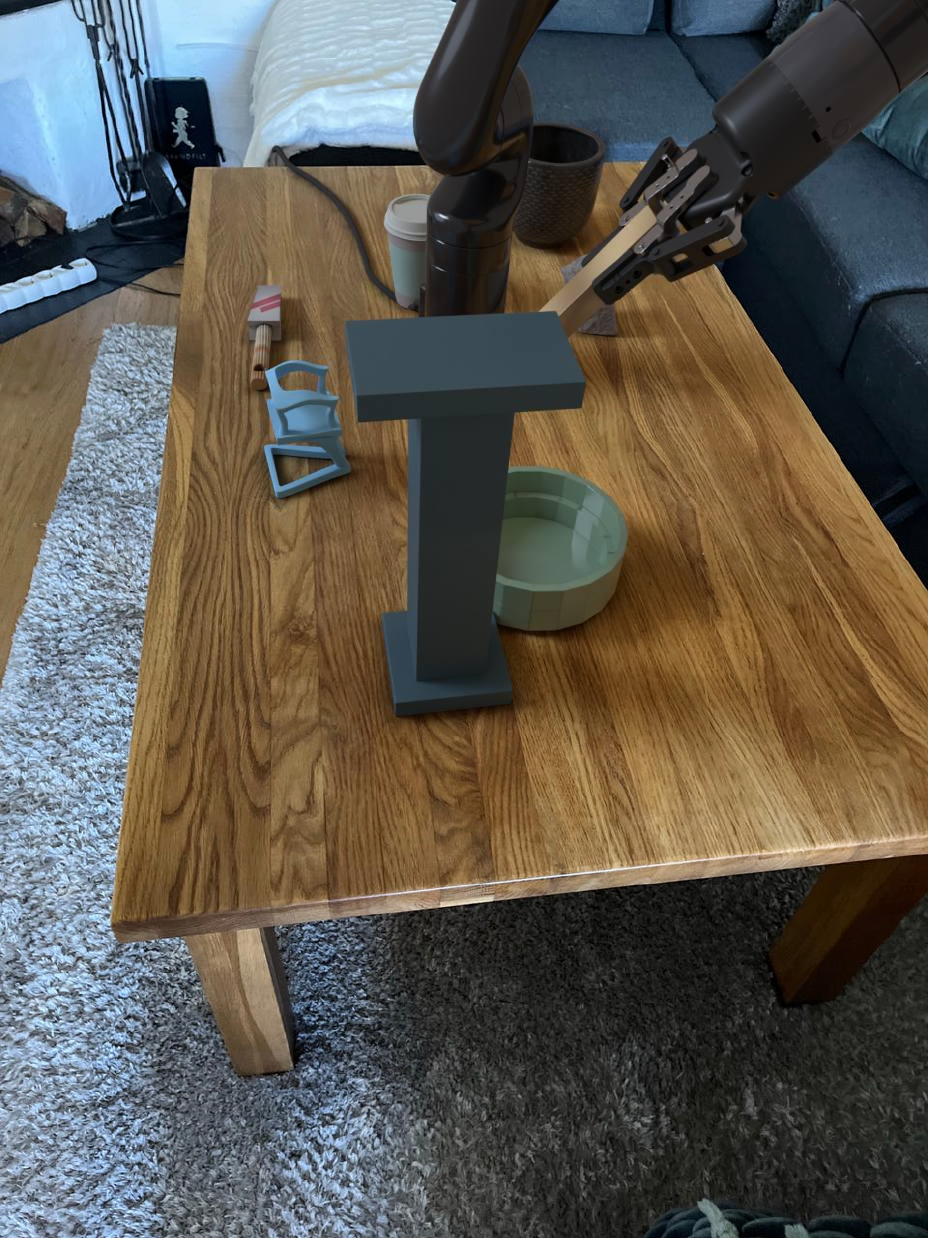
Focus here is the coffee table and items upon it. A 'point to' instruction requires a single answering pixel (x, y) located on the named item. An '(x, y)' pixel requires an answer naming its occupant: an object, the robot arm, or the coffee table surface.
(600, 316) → the mineral specimen
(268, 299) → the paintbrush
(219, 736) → the coffee table surface
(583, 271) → the wooden mallet
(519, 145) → the robot arm
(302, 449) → the chair
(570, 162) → the planter
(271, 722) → the coffee table surface
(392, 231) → the coffee cup
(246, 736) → the coffee table surface
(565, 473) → the bowl
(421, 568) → the lectern stand
